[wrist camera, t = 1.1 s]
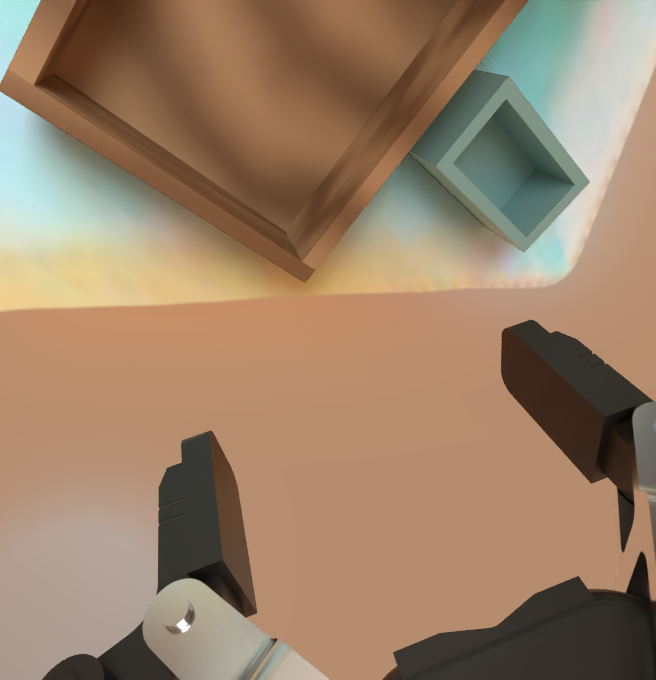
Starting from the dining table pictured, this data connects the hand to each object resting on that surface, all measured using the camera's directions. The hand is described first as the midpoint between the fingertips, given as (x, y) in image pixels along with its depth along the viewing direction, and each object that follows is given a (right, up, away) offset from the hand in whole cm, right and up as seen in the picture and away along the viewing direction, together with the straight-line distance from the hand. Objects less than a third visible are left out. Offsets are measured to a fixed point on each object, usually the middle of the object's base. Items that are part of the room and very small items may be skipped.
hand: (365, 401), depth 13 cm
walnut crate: (-3, +20, +14) cm, 25 cm away
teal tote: (+10, +15, +22) cm, 28 cm away
